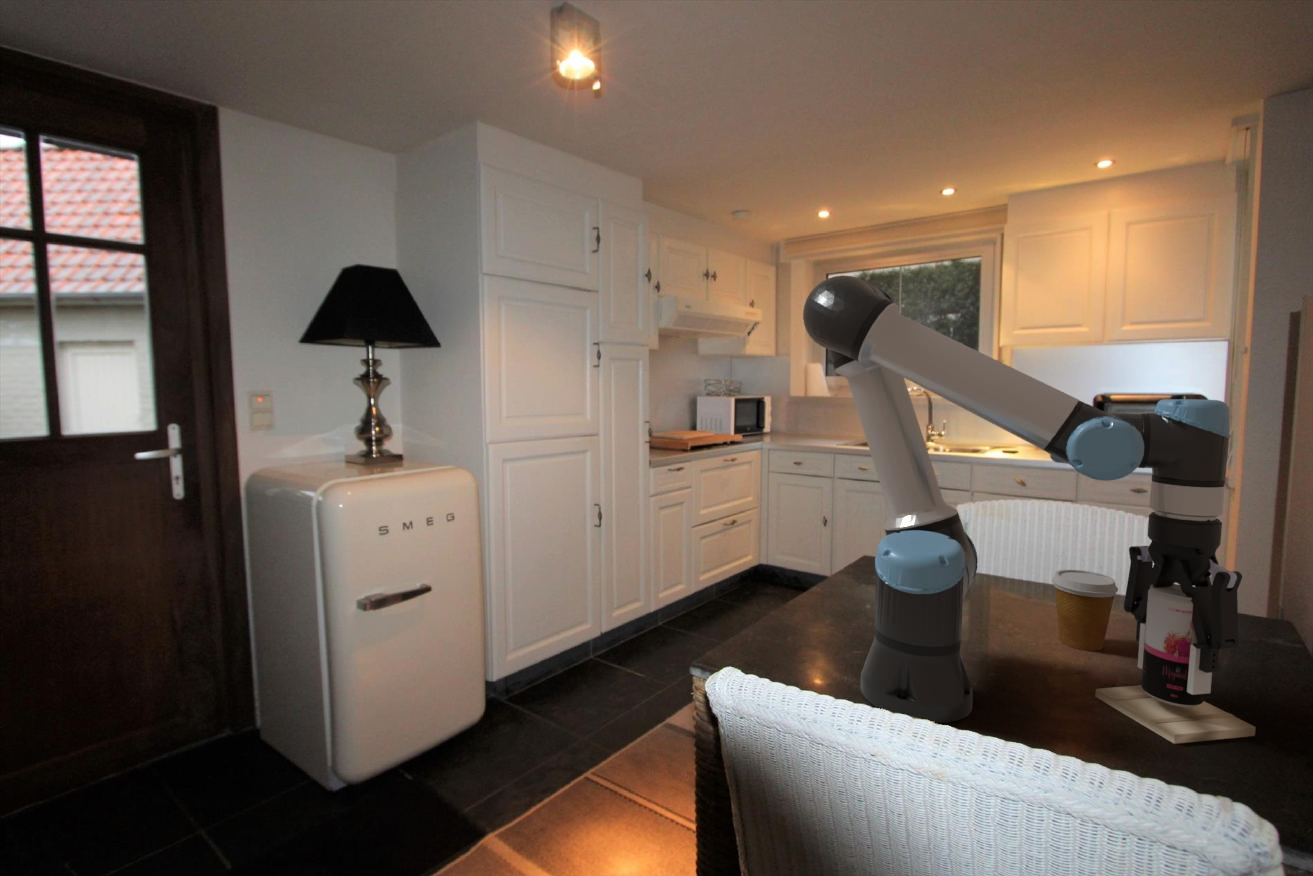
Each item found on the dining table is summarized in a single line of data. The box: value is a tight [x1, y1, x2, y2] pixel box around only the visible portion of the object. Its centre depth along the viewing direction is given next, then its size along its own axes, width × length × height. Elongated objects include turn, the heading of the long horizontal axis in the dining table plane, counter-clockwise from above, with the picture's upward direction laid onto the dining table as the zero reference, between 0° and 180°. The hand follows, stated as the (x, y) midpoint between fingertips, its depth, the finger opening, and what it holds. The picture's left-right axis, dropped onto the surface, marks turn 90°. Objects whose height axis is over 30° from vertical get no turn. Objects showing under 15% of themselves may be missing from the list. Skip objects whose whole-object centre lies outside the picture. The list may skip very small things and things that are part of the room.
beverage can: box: [1141, 583, 1205, 707], centre depth 85 cm, size 7×7×15 cm
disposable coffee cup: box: [1051, 569, 1119, 652], centre depth 109 cm, size 10×10×12 cm
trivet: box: [1094, 684, 1256, 744], centre depth 86 cm, size 12×12×1 cm
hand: (1172, 679), depth 86 cm, fingers closed on beverage can, 6 cm apart
